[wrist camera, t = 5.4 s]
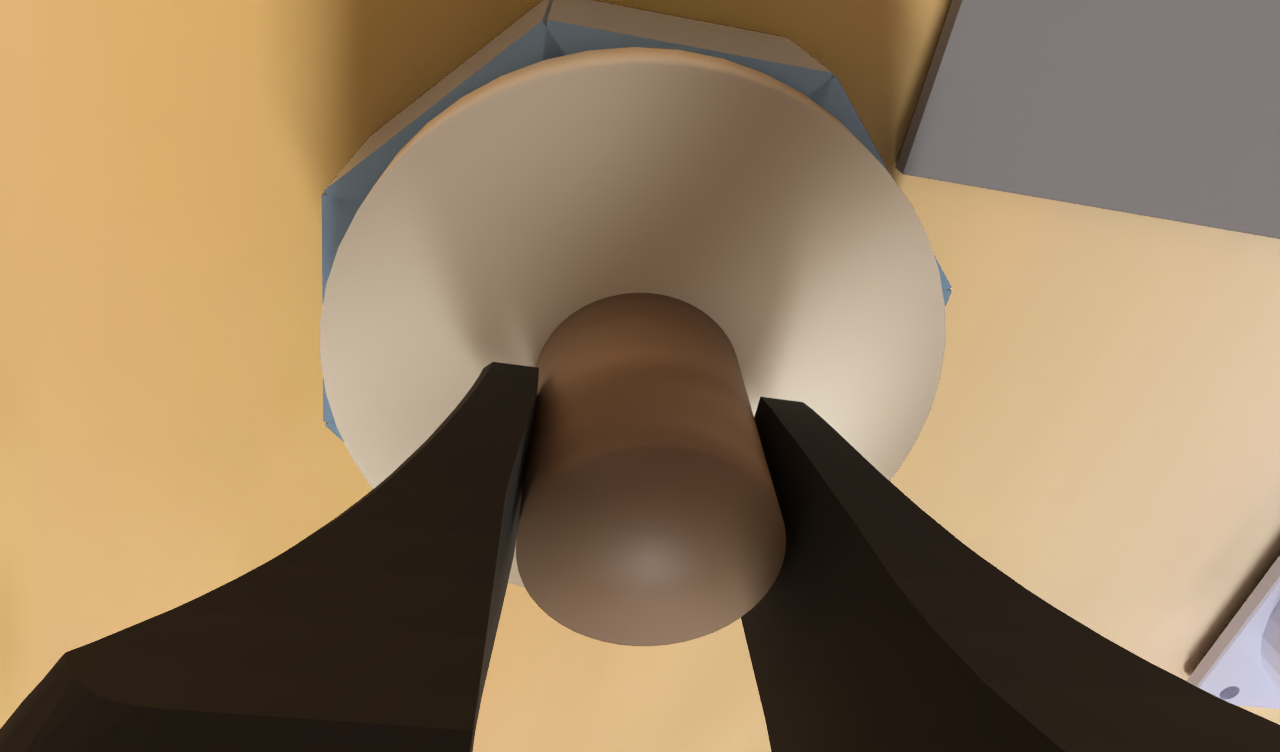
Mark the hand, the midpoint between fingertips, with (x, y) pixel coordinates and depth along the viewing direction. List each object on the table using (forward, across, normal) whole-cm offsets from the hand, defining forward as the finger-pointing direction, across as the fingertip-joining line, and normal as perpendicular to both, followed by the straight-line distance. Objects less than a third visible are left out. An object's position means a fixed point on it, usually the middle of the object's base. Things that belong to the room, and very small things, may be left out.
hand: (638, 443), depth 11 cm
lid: (+2, 0, 0) cm, 2 cm away
